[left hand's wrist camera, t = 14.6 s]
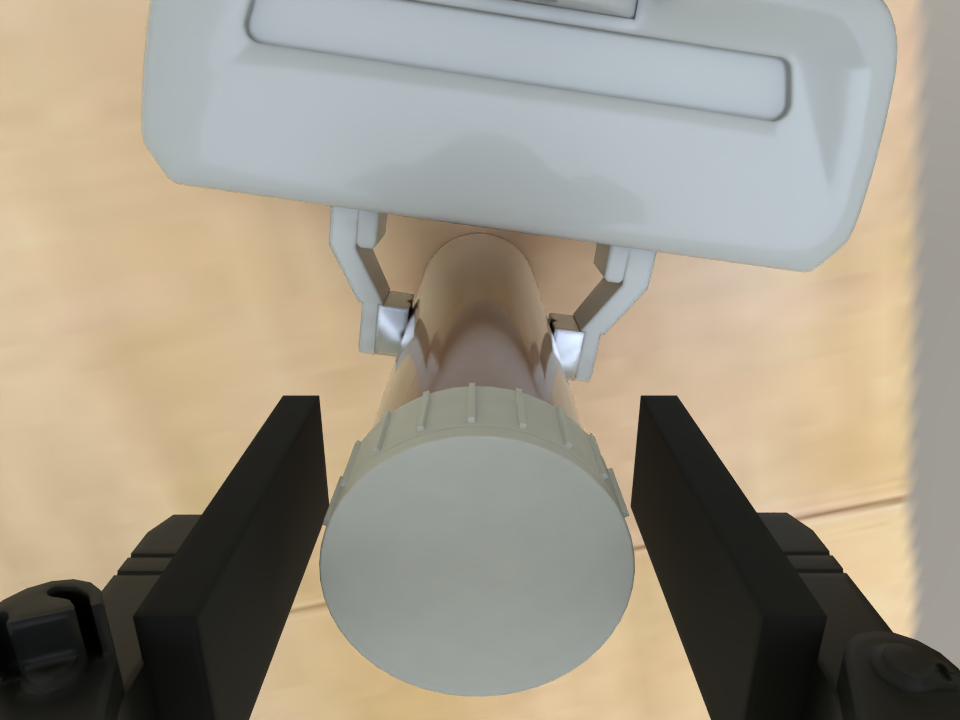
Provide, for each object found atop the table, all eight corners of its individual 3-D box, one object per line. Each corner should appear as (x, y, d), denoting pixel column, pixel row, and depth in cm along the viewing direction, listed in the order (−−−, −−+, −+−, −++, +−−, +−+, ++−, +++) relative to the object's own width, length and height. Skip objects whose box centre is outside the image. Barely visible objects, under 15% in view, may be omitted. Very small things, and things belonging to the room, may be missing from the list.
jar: (399, 291, 28) (279, 565, 11) (475, 208, 27) (469, 376, 10) (481, 363, 29) (483, 709, 12) (558, 286, 28) (676, 554, 11)
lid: (283, 514, 13) (250, 584, 11) (469, 323, 11) (467, 364, 9) (483, 659, 14) (483, 745, 12) (672, 502, 12) (706, 571, 11)
